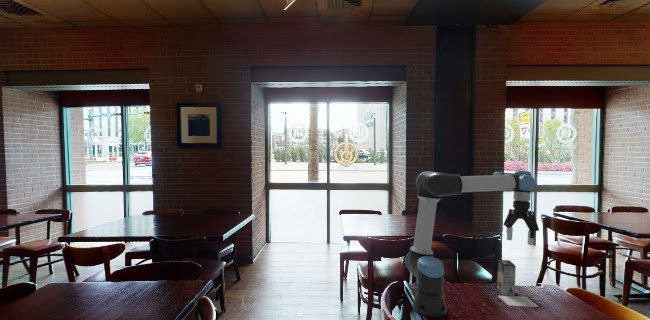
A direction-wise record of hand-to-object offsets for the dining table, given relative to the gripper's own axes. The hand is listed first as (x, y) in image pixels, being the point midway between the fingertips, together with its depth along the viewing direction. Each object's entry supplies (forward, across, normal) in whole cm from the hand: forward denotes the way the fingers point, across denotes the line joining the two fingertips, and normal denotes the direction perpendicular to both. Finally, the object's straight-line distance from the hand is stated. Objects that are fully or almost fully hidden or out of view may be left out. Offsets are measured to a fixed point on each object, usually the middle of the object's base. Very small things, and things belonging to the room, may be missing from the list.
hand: (519, 242), depth 167 cm
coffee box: (+28, +11, -3) cm, 30 cm away
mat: (+29, 0, 0) cm, 29 cm away
